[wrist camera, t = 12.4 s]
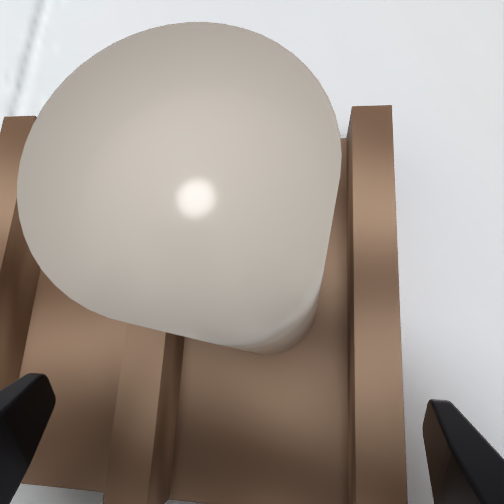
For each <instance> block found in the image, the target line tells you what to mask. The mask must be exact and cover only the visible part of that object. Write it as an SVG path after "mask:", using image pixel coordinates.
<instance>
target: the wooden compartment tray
mask: <svg viewBox="0 0 504 504" xmlns="http://www.w3.org/2000/svg"><path fill="white" fill-rule="evenodd" d="M36 119H37V117H36V116H15V117H4V120H3V124H2V128H1V132H0V390H2V389H3V388H5V387H7V386H8V385H10V384H11V383H13V382H15V381H16V380H18V379H19V378H21V377H23V376H24V375H26V374H28V373H42V374H45V375H47V377H48V379H49V381H50V384H51V386H52V388H53V391H54V393H55V396H56V403H55V407H54V410H53V412H52V414H51V417H50V419H49V421H48V424H47V426H46V429H45V431H44V433H43V436H42V438H41V440H40V443H39V445H38V448H37V450H36V452H35V455H34V457H33V459H32V461H31V464H30V466H29V468H28V470H27V472H26V474H25V476H24V478H23V480H22V481H21V483H23V484H32V485H42V486H51V487H60V488H69V489H79V490H88V491H97V492H104V497H103V504H165V503H166V502H167V501H168V500H169V499H171V500H180V501H189V502H198V503H208V504H408V503H407V477H406V452H405V427H404V402H403V377H402V352H401V326H400V301H399V276H398V251H397V226H396V201H395V176H394V150H393V125H392V105H383V106H352V110H351V115H350V121H349V127H348V133H347V138H340V141H341V153H342V157H341V172H340V180H339V186H338V191H337V197H336V203H335V209H334V214H333V220H332V226H331V232H330V237H329V243H328V249H327V255H326V260H325V266H324V272H323V278H322V283H321V289H320V295H319V301H318V306H317V312H316V317H315V320H314V323H313V325H312V327H311V329H310V331H309V332H308V334H307V335H306V337H305V338H304V339H303V340H302V341H301V342H300V343H298V344H297V345H296V346H294V347H293V348H291V349H289V350H287V351H285V352H282V353H279V354H273V355H260V354H254V353H250V352H246V351H242V350H238V349H234V348H230V347H225V346H221V345H217V344H213V343H209V342H205V341H201V340H196V339H192V338H188V337H184V336H180V335H176V334H172V333H167V332H163V331H159V330H155V329H151V328H147V327H142V326H138V325H134V324H130V323H126V322H122V321H118V320H115V319H111V318H107V317H105V316H103V315H100V314H98V313H96V312H93V311H91V310H88V309H87V308H85V307H84V306H82V305H80V304H79V303H77V302H75V301H74V300H72V299H71V298H69V297H68V296H67V295H66V294H65V293H63V292H62V291H61V290H60V289H59V288H58V287H56V286H55V285H54V284H53V282H52V281H51V280H50V279H49V278H48V277H47V276H46V274H45V273H44V272H43V271H42V270H41V268H40V266H39V265H38V263H37V262H36V260H35V258H34V257H33V255H32V253H31V251H30V249H29V247H28V244H27V242H26V240H25V237H24V234H23V230H22V227H21V223H20V219H19V213H18V204H17V179H18V172H19V166H20V160H21V156H22V153H23V149H24V146H25V143H26V140H27V138H28V135H29V133H30V131H31V128H32V126H33V124H34V122H35V120H36Z"/></svg>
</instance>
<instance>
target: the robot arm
mask: <svg viewBox="0 0 504 504" xmlns="http://www.w3.org/2000/svg"><path fill="white" fill-rule="evenodd" d="M55 403H56V396H55V393H54V391H53V388H52V386H51V384H50V381H49V379H48V377H47V375H45V374H42V373H28V374H26V375H24V376H23V377H21V378H19V379H18V380H16V381H15V382H13V383H11V384H10V385H8V386H7V387H5V388H3V389H2V390H0V504H10V502H11V500H12V498H13V496H14V495H15V493H16V491H17V489H18V487H19V485H20V483H21V481H22V480H23V478H24V476H25V474H26V472H27V470H28V468H29V466H30V464H31V461H32V459H33V457H34V455H35V452H36V450H37V448H38V445H39V443H40V440H41V438H42V436H43V433H44V431H45V429H46V426H47V424H48V421H49V419H50V417H51V414H52V412H53V410H54V407H55ZM423 438H424V444H425V450H426V456H427V462H428V468H429V475H430V481H431V487H432V493H433V499H434V504H504V459H503V458H502V457H501V456H500V454H499V453H498V452H497V451H496V450H495V449H494V448H493V447H492V446H491V445H490V444H489V443H488V441H487V440H486V439H485V438H484V437H483V436H482V435H481V434H480V433H479V432H478V431H477V430H476V428H475V427H474V426H473V425H472V424H471V423H470V422H469V421H468V420H467V419H466V418H465V417H464V415H463V414H462V413H461V412H460V411H459V410H458V409H457V408H456V407H455V406H454V405H453V404H452V403H451V402H450V401H447V400H435V399H432V400H429V402H428V404H427V409H426V413H425V418H424V422H423Z"/></svg>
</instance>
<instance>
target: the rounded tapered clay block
mask: <svg viewBox="0 0 504 504" xmlns="http://www.w3.org/2000/svg"><path fill="white" fill-rule="evenodd" d="M341 157H342V153H341V141H340V132H339V128H338V124H337V120H336V116H335V113H334V110H333V108H332V105H331V103H330V101H329V98H328V96H327V94H326V93H325V91H324V89H323V88H322V86H321V84H320V83H319V81H318V80H317V78H316V77H315V76H314V75H313V73H312V72H311V71H310V70H309V69H308V67H307V66H306V65H305V64H304V63H303V62H302V61H300V60H299V59H298V58H297V57H296V56H295V55H294V54H293V53H291V52H290V51H289V50H287V49H286V48H284V47H283V46H281V45H280V44H278V43H277V42H275V41H273V40H271V39H269V38H267V37H265V36H263V35H261V34H258V33H255V32H253V31H250V30H247V29H244V28H240V27H236V26H231V25H227V24H219V23H209V22H187V23H178V24H170V25H165V26H160V27H156V28H152V29H148V30H145V31H142V32H139V33H136V34H133V35H131V36H129V37H126V38H124V39H122V40H120V41H118V42H116V43H113V44H112V45H110V46H108V47H107V48H105V49H103V50H101V51H100V52H98V53H96V54H95V55H94V56H92V57H91V58H90V59H88V60H87V61H86V62H84V63H83V64H82V65H80V66H79V67H78V68H77V69H76V70H75V71H74V72H73V73H71V74H70V75H69V76H68V77H67V78H66V79H65V80H64V81H63V83H62V84H61V85H60V86H59V87H58V88H57V89H56V90H55V91H54V93H53V94H52V95H51V97H50V98H49V100H48V101H47V102H46V104H45V105H44V107H43V108H42V110H41V111H40V113H39V115H38V117H37V119H36V120H35V122H34V124H33V126H32V128H31V131H30V133H29V135H28V138H27V140H26V143H25V146H24V149H23V153H22V156H21V160H20V166H19V172H18V179H17V204H18V213H19V219H20V223H21V227H22V230H23V234H24V237H25V240H26V242H27V244H28V247H29V249H30V251H31V253H32V255H33V257H34V258H35V260H36V262H37V263H38V265H39V266H40V268H41V270H42V271H43V272H44V273H45V274H46V276H47V277H48V278H49V279H50V280H51V281H52V282H53V284H54V285H55V286H56V287H58V288H59V289H60V290H61V291H62V292H63V293H65V294H66V295H67V296H68V297H69V298H71V299H72V300H74V301H75V302H77V303H79V304H80V305H82V306H84V307H85V308H87V309H88V310H91V311H93V312H96V313H98V314H100V315H103V316H105V317H107V318H111V319H115V320H118V321H122V322H126V323H130V324H134V325H138V326H142V327H147V328H151V329H155V330H159V331H163V332H167V333H172V334H176V335H180V336H184V337H188V338H192V339H196V340H201V341H205V342H209V343H213V344H217V345H221V346H225V347H230V348H234V349H238V350H242V351H246V352H250V353H254V354H260V355H273V354H279V353H282V352H285V351H287V350H289V349H291V348H293V347H294V346H296V345H297V344H298V343H300V342H301V341H302V340H303V339H304V338H305V337H306V335H307V334H308V332H309V331H310V329H311V327H312V325H313V323H314V320H315V317H316V312H317V306H318V301H319V295H320V289H321V283H322V278H323V272H324V266H325V260H326V255H327V249H328V243H329V237H330V232H331V226H332V220H333V214H334V209H335V203H336V197H337V191H338V186H339V180H340V172H341Z"/></svg>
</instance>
